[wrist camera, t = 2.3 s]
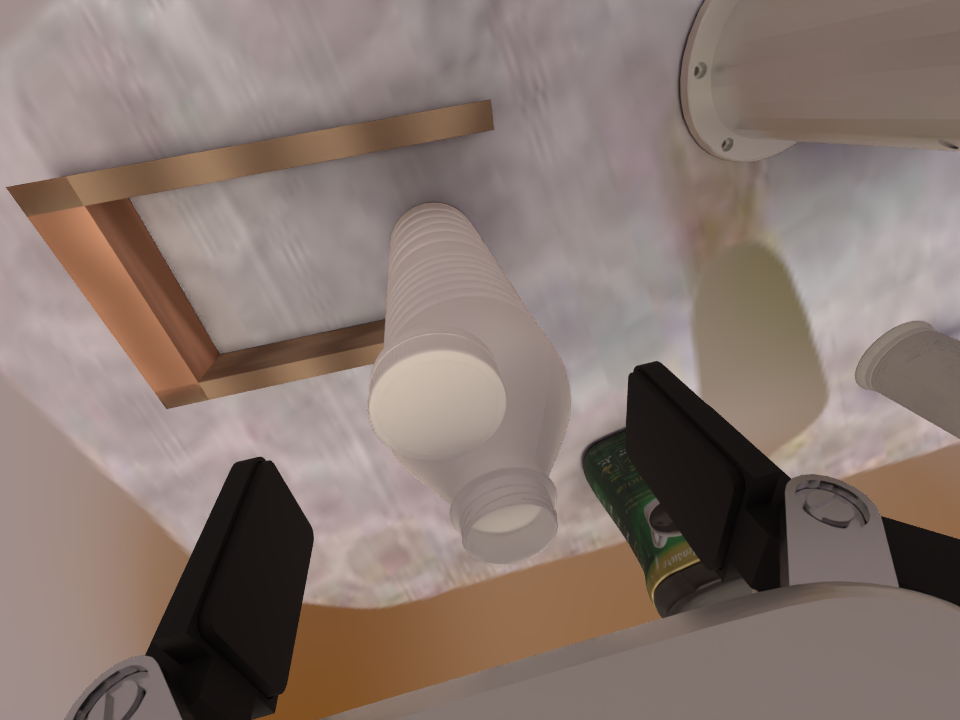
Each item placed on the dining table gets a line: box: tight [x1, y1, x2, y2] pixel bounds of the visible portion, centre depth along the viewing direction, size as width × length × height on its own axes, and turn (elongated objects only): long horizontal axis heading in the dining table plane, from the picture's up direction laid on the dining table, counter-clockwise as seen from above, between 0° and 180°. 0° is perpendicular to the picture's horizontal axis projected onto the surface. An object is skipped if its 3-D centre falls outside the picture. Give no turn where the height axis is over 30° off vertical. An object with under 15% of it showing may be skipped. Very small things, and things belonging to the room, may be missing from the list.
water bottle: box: [368, 202, 571, 565], centre depth 19 cm, size 9×6×25 cm
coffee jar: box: [583, 431, 753, 618], centre depth 38 cm, size 10×8×19 cm
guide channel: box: [6, 99, 494, 409], centre depth 28 cm, size 26×15×4 cm, turn 98°
